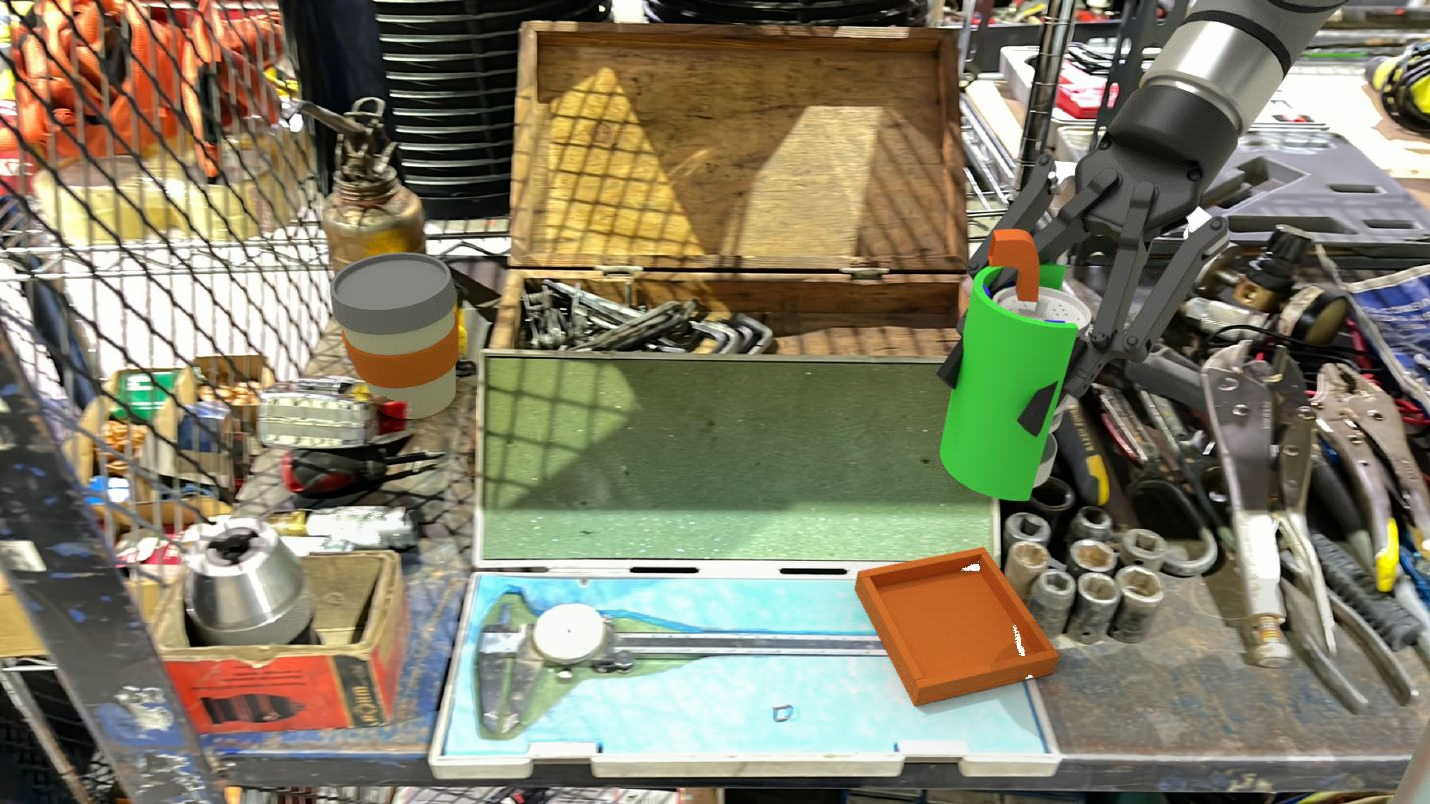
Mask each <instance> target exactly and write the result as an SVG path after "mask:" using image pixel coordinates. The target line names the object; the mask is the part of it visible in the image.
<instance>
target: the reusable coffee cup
mask: <svg viewBox="0 0 1430 804" xmlns="http://www.w3.org/2000/svg"><path fill="white" fill-rule="evenodd" d="M329 295H330V303H331V311H332V315H333V317H334V320H335V321H336V322H337V323H338V324H339V325H340V327H341V328H342V330H341V339H342V341H343V344H344V346H345V348H346V351H347V353H348V357H349V358H350V360H351V362H352V366H353V367H354V370H355V372H356V374H357V376H358V377H359V378H360V379H361V380H362V381H364V383H365V386H366V388H367V390H368V393H369V394H370V393H371V394H373V395H382V396H385V397H387V399H390V400H394V401H409V400H411V401H413V403H414V420H415V421H416V420H418V419H419V420H421V419H425V418H428V417H432V416H434V415H436V414H439V413H441V412H442V411H444V410H445V409H446V408H448V407H449V406H450V405H451V404H452V402H453V401H454V399H455V398H456V395H457V394H456V393H457V379H456V378H457V377H456V374H457V373H456V370H457V369H456V364H457V363H458V361H459V357H460V328H459V325H460V324H459V322H460V321H459V315H458V314H457V312H456V310H455V306H456V304H457V300H458V294H457V290H456V286H455V284H454V280H453V276H452V273H451V269H450V268H449V267H448V265H447V264H446V263H445V262H444V261H442V260H440V259H439V258H437V257H435V256H431V255H428V254H425V253H420V252H419V253H418V252H406V251H405V252H400V251H399V252H387V253H380V254H376V255H375V254H374V255H372V256H369V257H364V258H361V259H359V260H357V261H355V262H352V263H350V264H348V265H346V266H345V267H343V268H342V269H340V270H339V271H338V272H337V273H336V274H335V275H334V276H333V277H332V279H331V280H330V283H329ZM414 420H413V421H414Z"/></svg>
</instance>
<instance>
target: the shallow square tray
mask: <svg viewBox="0 0 1430 804" xmlns="http://www.w3.org/2000/svg"><path fill="white" fill-rule="evenodd" d="M984 547H985V546H980V547H977V548H971V549H966V550H960V551H955V552H950V553H945V554H940V555H935V556H929V557H924V558H920V559H914V560H909V561H904V562H899V563H894V564H888V565H883V566H877V567H873V568H867V569H862V570H858V571H857V575H856V578H855V585H854V591H855V593H856V595H857V596H858V598H859V601H860V602H861V604H862V606H863V608H864V611H865V613H866V615H867V616H868V618H869V620H870V622H871V624H872V625H873V628H874V630H875V632H876V633H877V636H878V638H879V639H880V641H881V644H882V645H883V648H884V649H885V651H886V650H887V651H888V653H887V655H888V657H889V659H890V661H891V663H892V665H893V667H894V669H895V671H896V673H897V675H898V676H899V678H900V680H901V682H902V684H903V686H904V688H905V690H906V692H907V694H908V696H909V698H910V700H911V702H912V704H913V706H914V707H918V706H922V705H925V704H929V703H934V702H938V701H939V702H940V701H943V700H947V699H951V698H955V697H960V696H963V695H969V694H972V693H977V692H981V691H986V690H990V689H994V688H998V687H1002V686H1003V687H1004V686H1006V685H1012V684H1015V682H1016V683H1019V682H1018V681H1020V682H1024V681H1025V680H1024V679H1025V678H1026V677H1028V675H1032V676H1033V677H1034V678H1033V679H1037V678H1040V677H1045V676H1049V675H1053V674H1054V672H1055V669H1056V666H1057V664H1058V662H1059V659H1060V657H1061V656H1060V654H1059V653H1058V651H1057V650H1056V648H1055V647H1054V645H1053V644H1052V643H1051V641H1050V639H1049V638H1048V637H1047V635H1046V634H1045V632H1044V631H1043V629H1042V628H1041V626H1040V625H1039V624H1038V622H1037V620H1036V619H1035V618H1034V616H1033V615H1032V613H1031V612H1030V611H1029V609H1028V608H1027V607H1026V605H1025V603H1024V602H1023V601H1022V598H1020V597H1019V595H1018V593H1017V592H1016V590H1015V589H1014V588H1013V587H1012V586H1013V585H1011V584H1010V582H1009V580H1008V579H1007V577H1006V576H1005V575H1004V574H1003V572H1002V570H1001V569H1000V568H999V566H998V564H997V563H996V562H995V560H994V558H993V557H992V556H991V554H990V552H989V551H988V550H987V548H986V547H985V548H984ZM978 561H979V566H980V570H979V572H978V571H971V570H970V571H964V570H963V569H962V568H965V567H966V568H967V567H968V566H970V565H971V564H972V565H973V563H974V564H975V563H976V562H978ZM961 570H963V571H961ZM1014 625H1016V626H1014ZM1013 626H1014V627H1017V629H1016V630H1017V631H1019V634H1020V637H1021V646H1023V647H1024V650H1025V652H1024V653H1025V656H1021V655H1019V654H1021V653H1019V651H1018V649H1017V645H1016V644H1017V643H1015V642H1016V641H1017V640H1015V638H1016V637H1017V636H1016V637H1015V633H1014V632H1015V631H1013V630H1014V628H1013ZM1016 634H1018V632H1017V633H1016ZM1023 647H1022V648H1023ZM887 651H886V652H887ZM1023 680H1024V681H1023Z"/></svg>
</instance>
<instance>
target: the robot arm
mask: <svg viewBox="0 0 1430 804" xmlns="http://www.w3.org/2000/svg"><path fill="white" fill-rule="evenodd" d="M1350 1H1351V0H1196V1H1195V2H1194V4H1193V5H1192V7H1191V8H1190V10H1189V11H1188V12H1187V14H1186V16H1185V17H1184V19H1183V20H1182V21H1181V22H1180V23H1179V24H1178V26H1177V28H1176V29H1175V31H1174V32H1173V34H1172V35H1171V36H1170V38H1169V39H1168V40H1167V42H1166V44H1165V45H1164V46H1163V47H1162V48H1161V50H1160V51H1159V53H1158V54H1157V56H1156V57H1155V58H1154V60H1153V62H1151V64H1150V66H1149V67H1148V69H1147V70H1146V71H1145V72H1144V73H1143V75H1142V77H1141V78H1140V80H1139V84H1138V88H1136V89H1135V90H1134V91H1132V92H1131V93H1130V95H1129V96H1128V98H1127V99H1126V101H1125V102H1124V104H1123V105H1122V106H1121V108H1120V110H1118V112H1117V113H1116V115H1115V117H1114V118H1113V119H1112V121H1111V122H1110V124H1109V125H1108V126H1107V128H1106V130H1105V131H1104V133H1103V135H1102V137H1101V139H1100V141H1099V142H1098V144H1097V145H1096V147H1095V148H1094V149H1093V150H1092V151H1091V152H1089V153H1088V154H1086V155H1084V156H1083V157H1082V158H1080V159H1079V161H1077V162H1074V161H1060V160H1055V159H1054V157H1053V155H1052V154H1051V153H1047V152H1046V153H1042V154H1039V156H1037V157H1036V159H1035V161H1034V165H1033V168H1032V171H1031V174H1030V176H1029V178H1028V182H1027V183H1026V184H1025V186H1024V187H1023V188H1022V190H1021V191H1020V192H1019V194H1018V195H1017V196H1016V198H1014V201H1013V202H1012V203H1011V204H1010V206H1009V207H1008V208H1007V209H1006V211H1005V212H1004V213H1003V215H1002V216H1001V217H1000V218H999V220H998V221H997V222H996V224H995V225H994V227H993V228H992V229H991V231H990V232H989V233H988V235H987V236H986V237H985V238H984V240H983V241H982V242H981V244H980V245H979V246H978V248H977V249H976V250H975V251H974V252H973V254H972V256H970V258H969V259H968V261H967V262H966V264H965V271H966V273H967V274H968V276H970V279H972V281H973V282H974V279H975V276H976V275H977V274H978V273H979V272H980V271H981V270H983V269H984V268H986V267H988V266H990V263H989V258H988V255H989V250H990V245H991V240H992V236H993V231H994V230H1003V229H1020V230H1024V231H1026V232H1028V233H1029V234H1031V231H1032V230H1033V229H1034V227H1035V226H1036V225H1037V224H1038V222H1039V221H1040V220H1041V218H1042V217H1043V216H1044V214H1045V213H1046V212H1047V210H1048V209H1049V208H1050V206H1051V204H1052V203H1053V200H1054V199H1055V196H1060V195H1062V194H1063V193H1064V190H1065V189H1066V187H1067V186H1069V185H1070V184H1072V183H1074V189H1075V195H1074V196H1073V197H1072V198H1071V199H1069V200H1068V201H1067V202H1066V203H1065V204H1064V205H1062V206H1061V207H1060V208H1059V210H1058V211H1057V215H1056V216H1055V218H1053V219H1052V220H1051V221H1050V222H1048V223H1047V224H1046V225H1045V226H1044V227H1043V228H1041V229H1040V230H1039V231H1038V232H1037V233H1036V234H1035V235H1033V236H1032V238H1033V241H1034V244H1035V247H1036V250H1037V253H1038V258H1039V266H1040V265H1042V264H1046V263H1054V262H1055V261H1057V259H1059V258H1060V257H1061V256H1062V255H1063V254H1064V253H1066V252H1067V251H1068V250H1069V249H1071V247H1073V246H1075V245H1076V244H1080V243H1082V242H1084V241H1085V240H1087V238H1089V237H1090V236H1091V235H1092V234H1094V235H1097V236H1102V237H1109V238H1111V240H1113V241H1115V242H1116V243H1117V244H1118V248H1117V251H1116V254H1115V257H1114V261H1113V263H1112V264H1113V265H1112V266H1111V270H1110V273H1109V276H1108V278H1107V279H1108V280H1107V282H1106V286H1105V289H1104V292H1103V295H1102V298H1101V302H1100V305H1099V308H1098V311H1097V314H1096V317H1095V320H1094V323H1093V326H1092V329H1091V331H1087V336H1088V340H1089V342H1088V343H1087V341H1086V340H1085V341H1084V340H1082V339H1079V338H1077V337H1076V338H1075V342H1074V345H1073V349H1072V352H1071V356H1070V359H1069V363H1068V366H1067V370H1066V373H1065V377H1064V380H1063V384H1062V387H1061V391H1060V394H1059V398H1058V401H1057V405H1056V408H1055V410H1056V409H1057V407H1058V406H1059V405H1060V403H1061V402H1062V400H1063V399H1064V397H1065V396H1066V395H1067V394H1068V396H1069V397H1072V398H1073V399H1076V400H1078V399H1080V398H1081V397H1082V396H1084V395H1085V394H1086V393H1087V391H1088V390H1089V388H1090V387H1091V385H1092V384H1093V382H1094V381H1095V380H1096V378H1097V377H1098V376H1099V374H1100V372H1101V371H1102V370H1103V368H1104V367H1105V366H1106V364H1107V363H1108V362H1109V361H1112V360H1115V359H1116V360H1117V359H1118V360H1127V361H1130V362H1132V363H1134V364H1141V363H1143V362H1145V361H1146V360H1147V359H1148V357H1149V356H1150V354H1151V352H1152V351H1153V349H1154V348H1155V346H1156V345H1157V343H1158V341H1159V340H1160V339H1161V337H1162V335H1163V333H1164V331H1165V330H1166V329H1167V327H1168V325H1169V323H1170V322H1171V320H1172V319H1173V317H1174V315H1175V314H1176V312H1177V311H1178V310H1179V308H1180V306H1181V304H1182V302H1183V301H1184V299H1185V297H1186V296H1187V294H1188V293H1189V291H1190V290H1191V288H1192V286H1193V285H1194V283H1196V281H1197V279H1198V277H1199V276H1200V274H1201V272H1202V270H1203V269H1204V267H1205V266H1206V265H1207V264H1209V263H1210V262H1211V261H1212V260H1213V259H1215V258H1216V257H1217V256H1218V255H1219V254H1221V253H1222V252H1223V251H1224V250H1226V249H1227V248H1228V247H1229V246H1230V242H1231V239H1230V230H1229V225H1228V220H1227V219H1226V218H1225V217H1224V216H1220V215H1215V216H1212V215H1211V214H1209V213H1208V212H1207V211H1206V210H1204V209H1203V208H1202V200H1203V196H1204V194H1205V192H1207V190H1208V189H1209V188H1210V186H1211V185H1212V183H1213V182H1214V181H1215V179H1216V178H1217V177H1218V175H1219V174H1220V172H1222V171H1221V170H1222V169H1223V168H1224V167H1225V165H1226V163H1227V162H1228V161H1229V159H1230V158H1231V156H1233V153H1234V152H1235V151H1236V149H1237V147H1238V144H1239V139H1241V138H1242V137H1244V136H1245V135H1246V134H1247V133H1248V131H1249V130H1250V129H1251V128H1252V126H1253V125H1254V123H1255V122H1256V120H1257V118H1258V117H1259V116H1260V114H1261V113H1262V111H1263V110H1264V109H1265V107H1266V106H1267V104H1268V103H1269V102H1270V101H1271V99H1272V98H1273V96H1274V95H1275V93H1276V92H1277V90H1279V88H1280V86H1281V85H1282V83H1283V81H1284V80H1285V79H1286V77H1287V75H1288V73H1289V72H1290V70H1291V68H1292V67H1293V66H1294V64H1296V62H1297V61H1298V59H1299V58H1300V57H1301V55H1302V54H1303V52H1304V51H1305V50H1306V48H1307V47H1308V46H1309V44H1311V41H1313V39H1314V38H1315V36H1316V35H1317V34H1318V32H1319V31H1320V30H1321V28H1322V27H1323V26H1324V25H1325V24H1326V22H1327V21H1328V20H1329V19H1330V18H1331V17H1332V16H1333V15H1335V13H1336V12H1338V11H1339V10H1340V9H1341V8H1342V7H1343V6H1345V5H1346V4H1347V3H1349V2H1350ZM1186 225H1187V227H1186V228H1185V230H1184V231H1183V234H1182V235H1183V242H1182V243H1181V244H1180V246H1179V247H1178V249H1177V250H1176V252H1175V253H1174V255H1173V257H1172V258H1171V260H1170V261H1169V263H1168V265H1167V266H1166V267H1165V269H1164V271H1163V273H1162V274H1161V275H1160V277H1159V279H1158V280H1157V282H1156V284H1155V285H1154V286H1153V289H1152V290H1151V292H1150V293H1149V295H1148V297H1147V298H1146V300H1145V302H1144V303H1143V305H1142V306H1141V308H1140V310H1139V311H1138V313H1137V315H1136V316H1135V318H1134V319H1133V321H1132V322H1131V324H1130V326H1129V327H1128V329H1127V330H1126V333H1123V332H1124V329H1125V326H1126V323H1127V319H1128V317H1129V314H1130V310H1131V307H1132V302H1133V300H1134V297H1135V294H1136V291H1137V287H1138V284H1139V281H1140V278H1141V274H1142V272H1143V268H1144V266H1145V265H1146V264H1147V262H1148V259H1149V255H1150V252H1151V249H1152V246H1153V243H1154V240H1155V239H1157V238H1160V237H1161V236H1162V237H1163V236H1164V235H1166V234H1168V233H1170V232H1171V233H1172V231H1175V230H1177V229H1180V228H1181V227H1184V226H1186ZM1018 270H1019V269H1018V268H1016V267H1004V268H1003V269H1002V270H1001V271H1000V273H999V274H998V275H997V276H996V278H995V279H994V281H992V282H991V283H990V285H989V286H988V291H989V292H990V294H991V296H990V299H991V300H993V297H994V296H995V295H996V294H997V293H998V292H999V291H1001V290H1003V289H1004V288H1003V287H1004V286H1005V285H1006V284H1008V283H1009V282H1010V281H1013V282H1014V283H1015V285H1016V283H1017V277H1018ZM999 301H1000V299H999ZM999 301H998V302H999ZM967 312H968V308H966V310H965V312H964V313H963V314H962V316H961V317H960V319H959V320H958V321H957V324H956V328H955V331H956V333H957V334H958V335H959V336H960V338H959V340H958V341H957V343H955V345H954V347H953V349H952V350H951V352H949V354H948V356H947V357H946V358H945V360H944V362H943V363H942V364H941V366H940V368H938V370H937V372H936V373H935V375H936V376H937V377H938V378H939V379H940V380H941V381H942V382H943V383H944V384H945V385H946V386H947V387H949V388H950V389H951V390H952V389H954V390H955V388H956V384H957V379H958V375H959V371H960V366H961V362H962V357H963V353H964V348H963V335H964V334H963V332H964V327H965V322H966V317H967ZM1058 381H1059V380H1058ZM1058 381H1056V382H1055V383H1053V384H1051V385H1049V386H1047V387H1044V388H1042V389H1040V390H1038V391H1037V392H1036V393H1035V395H1034V396H1033V398H1032V399H1031V401H1030V402H1029V404H1028V405H1027V406H1026V408H1025V409H1024V411H1023V412H1022V414H1021V415H1020V416H1019V418H1018V419H1017V422H1018V423H1019V424H1020V425H1021V426H1022V427H1023V428H1024V429H1025V430H1026V431H1027V432H1029V433H1030V434H1031V435H1033V436H1035V437H1037V436H1038V435H1039V433H1040V432H1041V430H1042V427H1043V424H1044V421H1045V418H1046V415H1047V413H1048V410H1049V407H1050V404H1051V401H1052V398H1053V395H1054V392H1055V390H1056V387H1057V384H1058ZM1389 804H1430V718H1429V719H1428V721H1427V724H1426V725H1425V728H1424V730H1423V731H1422V733H1421V736H1420V739H1419V741H1418V743H1417V745H1416V747H1415V749H1414V752H1413V753H1412V755H1411V757H1410V760H1409V762H1408V763H1407V767H1406V769H1405V771H1404V774H1403V775H1402V777H1401V779H1400V782H1399V783H1398V785H1397V787H1396V790H1395V792H1394V794H1393V797H1392V799H1391V801H1390V803H1389Z"/></svg>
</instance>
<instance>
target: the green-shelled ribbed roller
mask: <svg viewBox="0 0 1430 804" xmlns="http://www.w3.org/2000/svg"><path fill="white" fill-rule="evenodd" d="M1032 237H1033V236H1032V235H1031V233H1028V232H1026V231H1024V230H1020V229H1003V230H994V231H993V236H992V240H991V245H990V250H989V255H988V258H989V263H990V266H988V267H986V268H984V269H983V270H981V271H980V272H979V273H978V274H977V275H976V276H975V279H974V281H973V282H972V287H971V292H970V297H969V303H968V307H967V309H968V312H967V317H966V322H965V327H964V332H963V334H964V335H963V348H964V353H963V357H962V362H961V366H960V371H959V375H958V379H957V384H956V388H955V390H954V389H952V388H951V391H950V396H949V401H948V406H947V412H946V415H945V420H944V425H943V432H942V435H941V436H942V437H941V441H940V447H939V457H940V460H941V463H942V465H943V467H944V468H945V470H946V471H947V472H948V473H949V475H950V476H952V478H953V479H955V480H957V481H958V482H959V483H960V484H962V485H963V486H965V487H966V488H969V489H970V490H972V491H975V492H977V493H979V494H982V495H984V496H987V497H991V498H994V499H998V500H1004V501H1015V502H1029V501H1030V498H1031V495H1032V492H1033V489H1034V488H1037V487H1039V486H1041V485H1042V484H1044V483H1045V482H1046V481H1047V480H1048V479H1049V478H1050V475H1051V473H1052V469H1053V467H1054V461H1055V459H1056V455H1057V452H1058V442H1057V440H1056V437H1055V436H1054V435H1053V432H1055V431H1056V430H1057V429H1059V427H1060V426H1061V422H1062V419H1063V416H1064V409H1065V408H1066V405H1067V402H1068V399H1069V395H1068V394H1067V395H1066V396H1065V397H1064V399H1063V400H1062V402H1061V403H1060V405H1059V406H1058V407H1057V409H1056V410H1055V408H1056V405H1057V401H1058V398H1059V394H1060V391H1061V387H1062V384H1063V380H1064V377H1065V373H1066V370H1067V366H1068V363H1069V359H1070V356H1071V352H1072V349H1073V345H1074V342H1075V338H1076V337H1077V338H1079V339H1082V340H1084V341H1086V332H1088V330H1089V328H1090V324H1091V321H1092V312H1091V310H1090V309H1089V307H1088V306H1087V305H1086V304H1085V303H1084V302H1083V301H1082V300H1080V299H1079V298H1077V297H1075V296H1074V295H1071V294H1069V293H1066V292H1064V291H1062V287H1063V284H1064V280H1065V276H1066V273H1067V269H1068V266H1067V265H1063V264H1058V263H1054V262H1053V263H1046V264H1042V265H1040V266H1039V258H1038V253H1037V250H1036V247H1035V244H1034V241H1033V238H1032ZM1004 267H1016V268H1018V269H1019V270H1018V277H1017V283H1016V285H1015V283H1014V282H1013V281H1010V282H1009V283H1008V284H1006V285H1005V286H1004V287H1003V288H1004V289H1003V290H1001V291H999V292H998V293H997V294H996V295H995V296H994V297H993V300H991V299H990V296H991V294H990V292H989V291H988V286H989V285H990V283H991V282H992V281H994V279H995V278H996V276H997V275H998V274H999V273H1000V271H1001V270H1002V269H1003V268H1004ZM999 299H1000V301H999ZM998 301H999V302H998ZM1058 380H1059V381H1058ZM1056 381H1058V384H1057V387H1056V390H1055V392H1054V395H1053V398H1052V401H1051V404H1050V407H1049V410H1048V413H1047V415H1046V418H1045V421H1044V424H1043V427H1042V430H1041V432H1040V433H1039V435H1038V436H1037V437H1035V436H1033V435H1031V434H1030V433H1029V432H1027V431H1026V430H1025V429H1024V428H1023V427H1022V426H1021V425H1020V424H1019V423H1018V422H1017V419H1018V418H1019V416H1020V415H1021V414H1022V412H1023V411H1024V409H1025V408H1026V406H1027V405H1028V404H1029V402H1030V401H1031V399H1032V398H1033V396H1034V395H1035V393H1036V392H1037V391H1038V390H1040V389H1042V388H1044V387H1047V386H1049V385H1051V384H1053V383H1055V382H1056Z"/></svg>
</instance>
